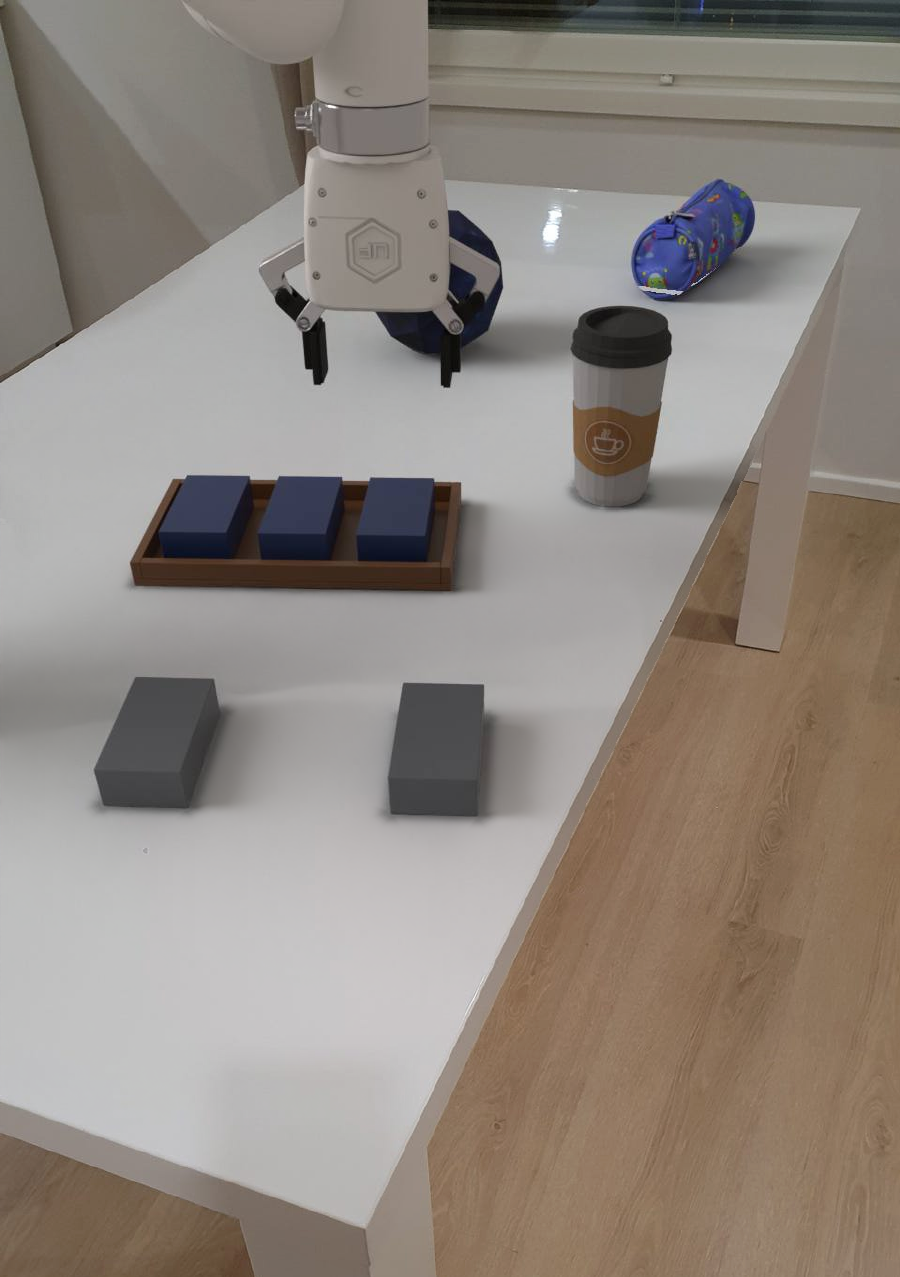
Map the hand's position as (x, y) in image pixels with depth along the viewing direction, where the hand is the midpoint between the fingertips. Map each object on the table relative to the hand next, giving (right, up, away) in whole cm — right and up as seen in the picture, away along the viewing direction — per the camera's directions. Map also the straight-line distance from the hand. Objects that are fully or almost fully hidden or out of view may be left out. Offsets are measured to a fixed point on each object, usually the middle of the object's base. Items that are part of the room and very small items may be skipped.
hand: (383, 379), depth 92 cm
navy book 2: (-7, -10, +10) cm, 16 cm away
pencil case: (+35, +33, +59) cm, 76 cm away
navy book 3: (+1, -10, +9) cm, 14 cm away
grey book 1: (-14, -29, -11) cm, 34 cm away
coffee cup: (+19, -5, +16) cm, 26 cm away
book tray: (-7, -10, +10) cm, 16 cm away
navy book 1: (-15, -10, +10) cm, 21 cm away
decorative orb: (+4, +18, +43) cm, 47 cm away
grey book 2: (+4, -30, -13) cm, 33 cm away
